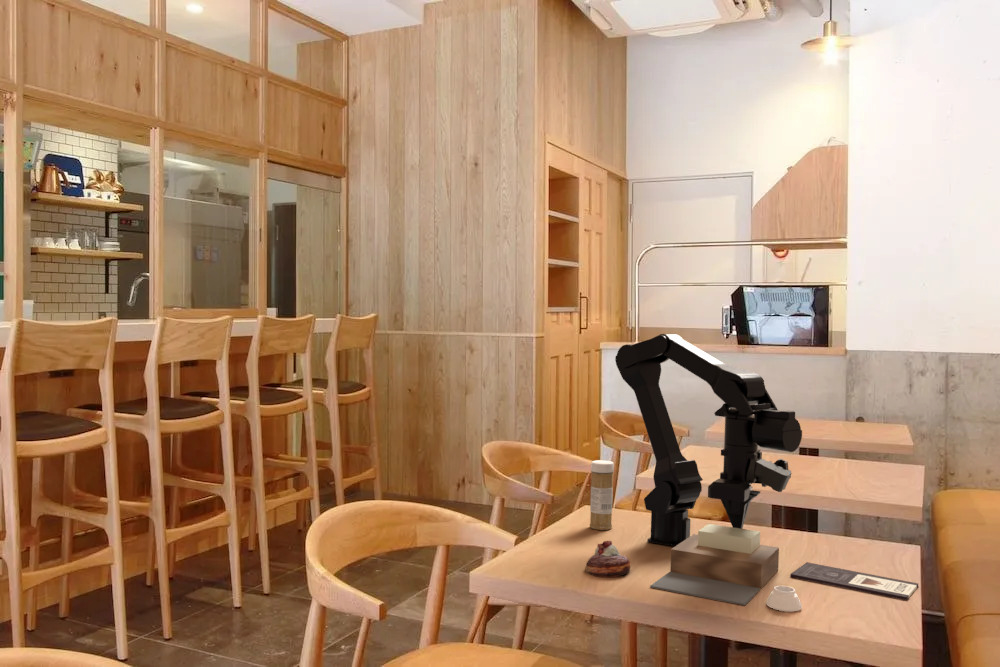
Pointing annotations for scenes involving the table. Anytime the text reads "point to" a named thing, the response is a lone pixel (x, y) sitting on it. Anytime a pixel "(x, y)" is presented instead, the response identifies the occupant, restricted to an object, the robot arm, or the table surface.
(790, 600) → the lidless jar
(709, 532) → the cream block
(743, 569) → the wooden block
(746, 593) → the mat
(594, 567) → the pastry
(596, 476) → the sprinkles bottle
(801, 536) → the table surface
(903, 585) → the chocolate bar
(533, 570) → the table surface
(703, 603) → the table surface
